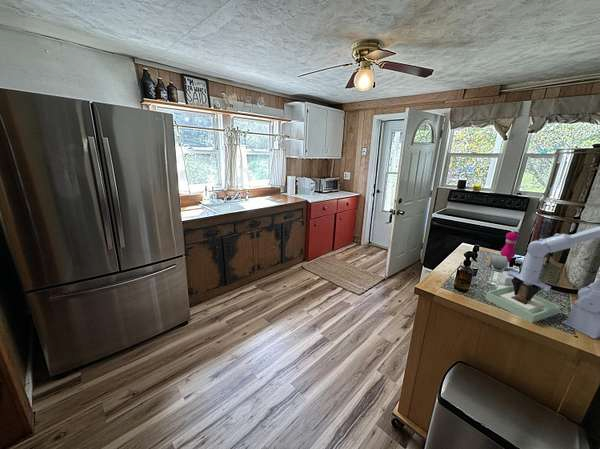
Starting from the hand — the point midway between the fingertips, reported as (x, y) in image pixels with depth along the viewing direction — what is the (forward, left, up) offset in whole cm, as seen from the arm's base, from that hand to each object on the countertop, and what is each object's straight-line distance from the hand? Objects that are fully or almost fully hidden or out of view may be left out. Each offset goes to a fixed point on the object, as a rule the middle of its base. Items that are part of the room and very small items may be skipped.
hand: (522, 297), depth 108 cm
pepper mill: (+36, -50, -5) cm, 62 cm away
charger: (+16, -23, -5) cm, 28 cm away
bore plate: (0, 0, -4) cm, 4 cm away
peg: (0, 0, -2) cm, 3 cm away
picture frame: (0, 0, -5) cm, 5 cm away
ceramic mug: (+29, -31, -5) cm, 43 cm away
